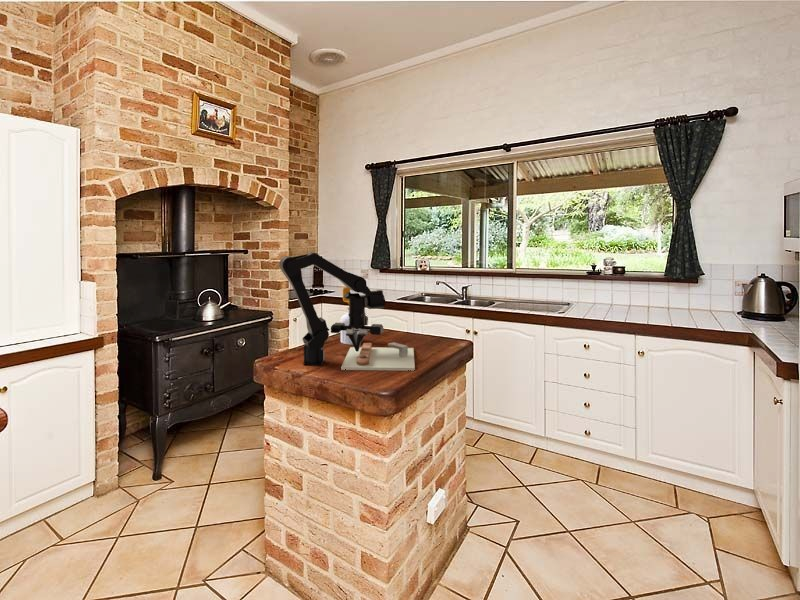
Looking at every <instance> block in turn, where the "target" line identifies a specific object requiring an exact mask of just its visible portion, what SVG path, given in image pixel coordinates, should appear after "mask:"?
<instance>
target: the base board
mask: <svg viewBox="0 0 800 600" xmlns="http://www.w3.org/2000/svg"><path fill="white" fill-rule="evenodd" d="M361 349H362V346H360V348H359V351H356V350H355V348H354V346H352V347H351V346H350V347H349V349H348V351H347V353H346V356H345V357H344V358H345V359H344V360H343V362H342V364H341V367H340V368H341V369H340V370H341V371H397V372H398V371H399V372H400V371H405V372H407V371H408V370H409V372H410V370H411V372H413V371H414V370H416V369H415V367H416V366H415V352H414V351H415V350H414V349H415V348H414V347H408V356H406V357H399V349H396V348H393V347H372V349H371V352H370V356H369V364H366V365H359V364H357V357H358V356H359V354H360V351H361ZM345 369H346V370H345ZM414 372H415V371H414Z"/></svg>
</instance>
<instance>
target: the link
mask: <svg viewBox="0 0 800 600" xmlns="http://www.w3.org/2000/svg"><path fill="white" fill-rule="evenodd" d="M372 346H373V345H372V342H363V344H362V345H361V347H362V349H361V351H360V354H359V356H358V357H357V364H359V365H366V364H369V356H370V352H371V349H372V348H373V347H372Z"/></svg>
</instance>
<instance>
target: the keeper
mask: <svg viewBox="0 0 800 600" xmlns="http://www.w3.org/2000/svg"><path fill="white" fill-rule="evenodd" d="M387 347H388V348H396V349H399V357H406V356H408V348H409V346H408V345H406V344H402V343H398V342H395V341H393V342H389V343H387Z"/></svg>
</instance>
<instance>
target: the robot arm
mask: <svg viewBox="0 0 800 600" xmlns="http://www.w3.org/2000/svg"><path fill="white" fill-rule="evenodd" d="M310 266H314V267H317V268H318V269H320V270H322V271H323V272H325V273H327V274H328V275H330V276H332V277H334V278H336V279H337V280H339V281H340V282H341V283H342V284H343V285H344V287H348V288H349V289H350V292H347V293H346V294H345V295H344V296H343V295H342V298H343V297H344V298H346V299H349V304H348V307H349V326H346V325H345V323H340V322H335V323H333V324H332V325H331V326H330V328H329V327H328V326H327V325H328V324H327V320H326V319H324V318H322V317H319V315H318V314H317V310H316V309H315V307H314V304H313V302H312V300H311V297H310V295H309V292H308V290H307V288H306V285H305V283H304V281H303V273H302V269H306V268H308V267H310ZM278 267H279V268H280V271H281V272H282V274H283V276H285V278H286V279H287V280H288V282H289V283H290V285H291V288H292V290H293V292H294V295H295V296H296V297H295V298H296V300H297V301H298V303H299V306H300V308H301V311H302V312H303V315H304V316H305V321H306V328H307V333H306V334H305V335H304V336H303V337H302V342H303V345H304V346H303V363H302V365H303V364H310V365H309V366H311V365H312V366H314V365H315V366H321V365H322V364H323V363H324V362H325V359H326V357H325V348H324V345H325V342H326V341H327V340H328V339H329V336H330V333H332V334H340V333H341V332H340V331H341V330H344V331H347V334H346V336H349V338H350V340H351V341H352V343H353V347H354V348H355V350H356V351H359V348H360V347H361V346H362V345H361V344H362V342H363V340H364V337H366V336H367V335H368V334H371V335H373V336H374V335H375V336H376V335H377V336H378V335H379V336H380V335H382V333H383V332H384V326H383V324H380V323H372V324H371V325H369V326H368V323H369V317H368V316H367V315H366V309H365V307H366V308H367V309H368V310H372V309H373V310H374V309H383V308H385V307H386V306H385V305H386V299H385V295H384V291H383V290H382V289H378V290H371V289H370V288H369V287H368V285H367V284H368V283H367V280H366V279H365V278H364V277H363V276H360V275H357V274H354V273H351V272H349V271H346V270H344V269H343V268H341V267H340V266H338V265H336V264H334V263H332V262H330V260H327V259H326V258H324V257H323V256H321V255H320V254H319V253H316V252H309V253H305V254H301V255H297V256H293V257H292V256H290V255H286V256H283V257H281V259H280V260H279V262H278ZM351 291H352V292H355V293H351ZM352 328H356V329H352ZM359 328H360V329H359ZM329 331H330V333H329ZM357 331H359V334H358V335H357Z"/></svg>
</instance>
